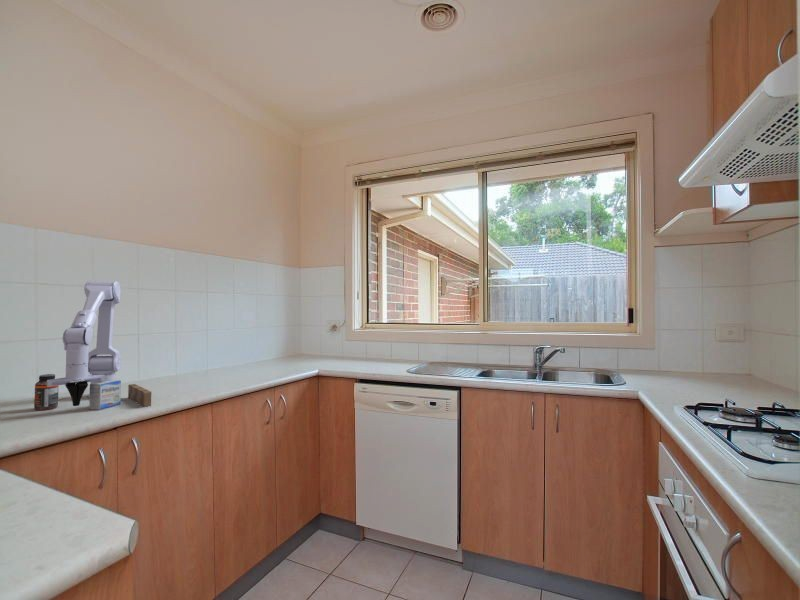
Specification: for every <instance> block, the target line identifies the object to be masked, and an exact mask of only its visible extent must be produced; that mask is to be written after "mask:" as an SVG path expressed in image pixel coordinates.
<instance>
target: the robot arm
mask: <svg viewBox="0 0 800 600" xmlns="http://www.w3.org/2000/svg"><path fill="white" fill-rule="evenodd" d="M83 290H84V294H85V297H86V299H85V303H84V305H83V309H82V310H79V311H77V312H76V315H75V317H74V319H73V322H72V324H71V326H70V327H68V328H66V329H65V330H63V333H62V343H63V349H64V351H65V377H60V378H55V379H50V380H47V386H48V387H50V386H56V385H59V386H63V385H64V386H65V387H66V389H67V391H68V393H69V396H70V397H71V402H72V406H73V407H79V406H80V405H81V399H82V398H83V395H84V393H85V391H86V389H87V388H88V387H89V383H90V384H93V383H99V382H104V381H109V380H116V373H117V372H119V370H120V369H121V366H122V358H121V352H120V351H119V350H118V349H116V348H115V347H113V334H114V322H115V321H114V319H115V318H114V316H115V307H116V305H117V304H120V302H121V301H120V300H121V291H122V289H121V285H120V282H118V281H101V280H99V281H97V280H95V281H94V280H88V281H86V282H85V284H84V289H83ZM97 311H98V313H97ZM97 314H98V315H97ZM96 322H97V329H96V330H97V332H96V333H97V334H96V346H95V348H94V349H92V350H90V349H89V348H90V346H89V345H91V343H92V341H93V336H94V329H93V328H94V326H95V324H96ZM86 396H87V397H88V398H89V399H90V393H89V394H86Z"/></svg>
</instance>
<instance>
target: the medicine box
mask: <svg viewBox="0 0 800 600" xmlns="http://www.w3.org/2000/svg"><path fill="white" fill-rule="evenodd" d="M121 389H122V380H120V379H115V380H109V381H104V382H99V383H93V384H91V383H90V384H89V394H90V398H89V405H88V406H89V410H93V411H94V410H96V411H102V410H106V409H109V408H113V407H117V406H120V405H121V404H122V403H121V399H122V398H121V397H122V396H121V394H122V390H121Z"/></svg>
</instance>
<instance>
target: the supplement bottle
mask: <svg viewBox="0 0 800 600" xmlns="http://www.w3.org/2000/svg"><path fill="white" fill-rule="evenodd" d="M50 379H56V374H54V373H46V374H40V375H39V377H38V381H37V382H36V383H35V384H34V398H33V399H34V400H33V402H34V404H33V405H34V406H33V409H34V411H49V410H53V409H54V410H55V409H56V408H58V406H59V388H60V387H59V386H60V385H56V386H50V387H48V386H47V380H50Z"/></svg>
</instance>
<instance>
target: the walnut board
mask: <svg viewBox="0 0 800 600" xmlns="http://www.w3.org/2000/svg"><path fill="white" fill-rule="evenodd" d="M127 387H128V388H127V389H128V391H127V393H128V395H127V397H128V399H129V400H131V401H133V402H134V403H136V404H137V405H139V406H142V407H143V408H148V406H150V407H152V391H150V390H148V389H146V388H144V387H142V386H140V385H138V384H136V383H130V384H128V386H127Z"/></svg>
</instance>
